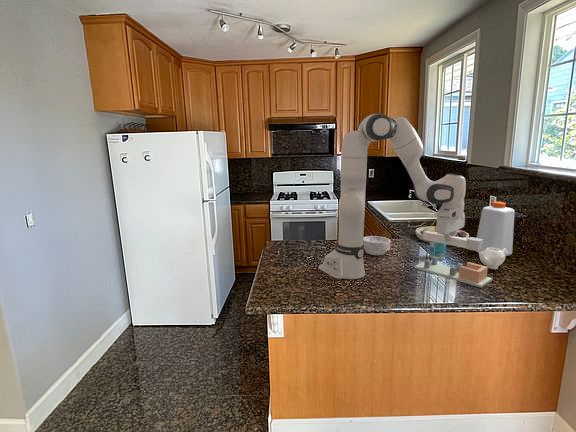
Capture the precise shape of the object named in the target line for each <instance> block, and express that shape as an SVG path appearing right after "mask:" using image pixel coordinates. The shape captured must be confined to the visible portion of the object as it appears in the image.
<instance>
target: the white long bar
mask: <svg viewBox="0 0 576 432" xmlns="http://www.w3.org/2000/svg"><path fill="white" fill-rule="evenodd" d="M449 236H450V241H449V242H446V241H445V236H444V235H443V234H438V233H436V232H430V231H425V232H423V239H425V240H430V241H434V242H439V243H444V244H448V245H447V246H454V247H459V248H463V249H466V250H470V251H475V252H476V251H480V250H482V247H483V239H479V238H477V237H471V236H469V238H468V239H466V238H461V237H456V236H451V235H449Z"/></svg>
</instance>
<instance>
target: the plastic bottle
mask: <svg viewBox="0 0 576 432" xmlns="http://www.w3.org/2000/svg"><path fill="white" fill-rule="evenodd" d="M506 205H507V203H506V202H503V201H492V205H488V206H484V207H483V208H482V210H481V214H480V218H479V219H480V220H479V225H478V229H477V235H476V238H479V239H483V247H482V250H480V251H482V252H483V251H484V250H485V249H486V248H488V247H494V248H499V249H501V250H503V249H506V250H507V252H508V253H506V252H505V257H508V256H511V255H512V254H513V245H514V244H513V242H514V226H515V209H513V208H511V207H507V206H506ZM475 252H476V253H478V254H479V251H475Z"/></svg>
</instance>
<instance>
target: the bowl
mask: <svg viewBox="0 0 576 432" xmlns="http://www.w3.org/2000/svg"><path fill="white" fill-rule="evenodd" d="M425 231H430V232H437V231H436V226H435V225H431V226H430V225H429V226H420V227H418V228H416V229H415V235H416V237H417V238H418V239H419V240H421V241H423V242H426V243H429V244H430V240H425V239H423V232H425ZM450 235H451V232H450ZM455 236H456V237H461V238H466V239H468V238H470V235H469V233H468V232H466V231H464V230H461V229H458V230H457V233H456V235H455ZM446 246H449V245H448V244H446Z"/></svg>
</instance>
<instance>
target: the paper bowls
mask: <svg viewBox="0 0 576 432" xmlns="http://www.w3.org/2000/svg"><path fill="white" fill-rule="evenodd" d="M363 244H364V252H366V254H368V255H371V256H383V255H385V254H386V252H388V251H390V250H391V239H390V238H388V237H385V236H378V235H367V236H363Z"/></svg>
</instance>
